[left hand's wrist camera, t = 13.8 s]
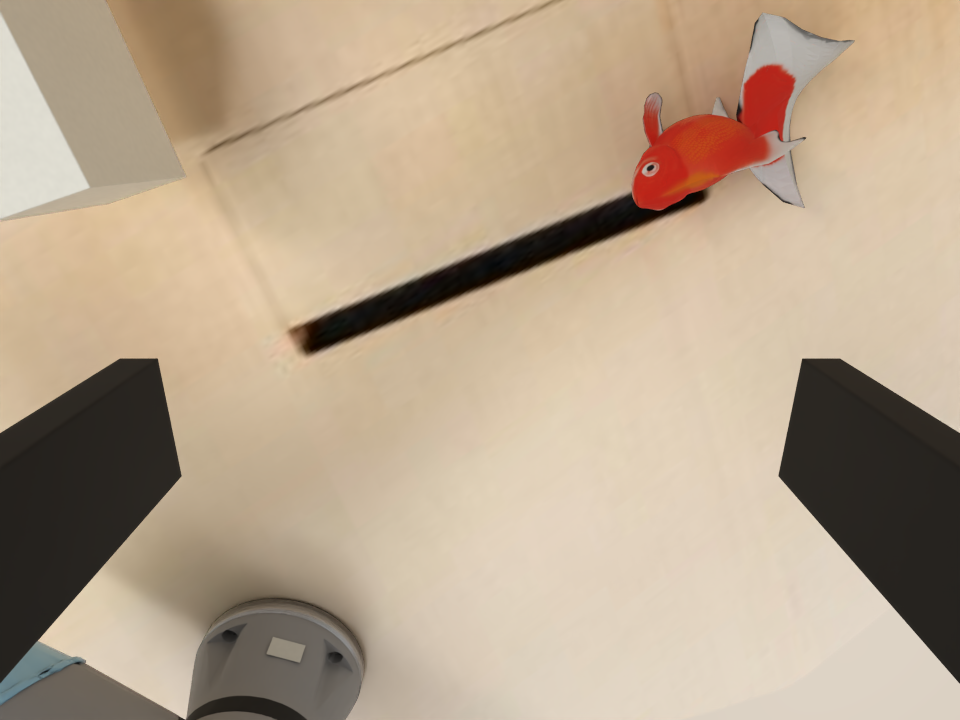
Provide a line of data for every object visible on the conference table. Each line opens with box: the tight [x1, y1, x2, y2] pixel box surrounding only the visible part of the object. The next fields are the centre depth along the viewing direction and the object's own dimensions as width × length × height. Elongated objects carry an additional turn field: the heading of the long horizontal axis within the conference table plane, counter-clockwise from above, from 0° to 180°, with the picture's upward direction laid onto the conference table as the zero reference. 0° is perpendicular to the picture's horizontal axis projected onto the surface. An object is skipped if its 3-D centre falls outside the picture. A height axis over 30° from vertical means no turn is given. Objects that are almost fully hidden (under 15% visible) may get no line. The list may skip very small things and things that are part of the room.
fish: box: [632, 13, 854, 210], centre depth 36 cm, size 11×16×10 cm
